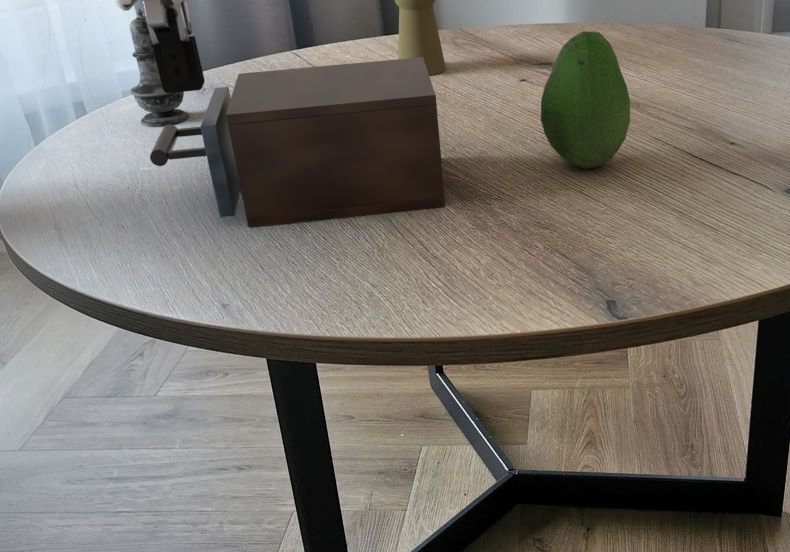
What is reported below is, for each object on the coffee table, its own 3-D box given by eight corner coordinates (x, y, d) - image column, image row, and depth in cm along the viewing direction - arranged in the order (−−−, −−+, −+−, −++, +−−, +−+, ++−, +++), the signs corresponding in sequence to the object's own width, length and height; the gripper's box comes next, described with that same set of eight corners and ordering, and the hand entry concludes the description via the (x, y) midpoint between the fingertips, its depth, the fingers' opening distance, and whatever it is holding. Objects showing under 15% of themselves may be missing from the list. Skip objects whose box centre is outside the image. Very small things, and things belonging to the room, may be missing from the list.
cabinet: (248, 227, 80) (225, 114, 75) (257, 175, 91) (238, 73, 86) (445, 206, 82) (435, 94, 77) (432, 157, 92) (422, 56, 88)
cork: (436, 77, 117) (428, -18, 112) (390, 75, 119) (380, -18, 113) (452, 64, 122) (445, -28, 116) (408, 63, 124) (399, -27, 118)
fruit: (547, 183, 85) (542, 46, 79) (538, 154, 92) (533, 25, 86) (636, 177, 85) (639, 39, 79) (621, 147, 92) (623, 18, 86)
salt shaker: (190, 108, 111) (166, 0, 105) (193, 122, 106) (168, 10, 100) (138, 115, 110) (110, 6, 104) (137, 130, 105) (109, 17, 99)
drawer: (159, 224, 79) (136, 132, 75) (178, 176, 89) (158, 92, 85) (405, 198, 81) (395, 107, 77) (397, 154, 91) (388, 71, 87)
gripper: (95, -161, 76) (153, 71, 86) (48, -150, 64) (122, 120, 73) (191, -168, 77) (238, 62, 86) (164, -159, 64) (222, 110, 74)
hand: (184, 88), depth 80 cm, fingers closed
